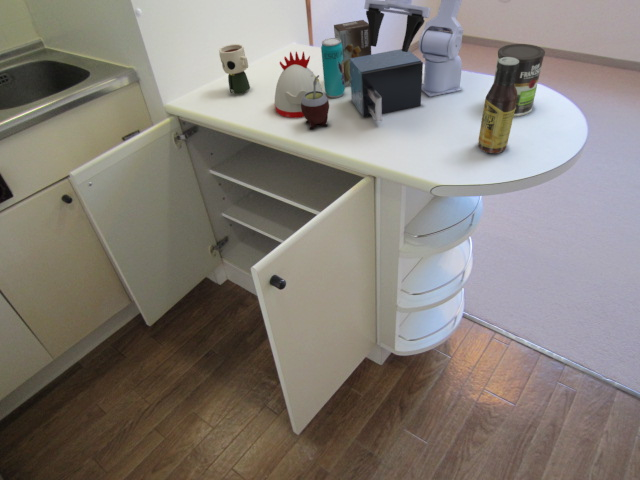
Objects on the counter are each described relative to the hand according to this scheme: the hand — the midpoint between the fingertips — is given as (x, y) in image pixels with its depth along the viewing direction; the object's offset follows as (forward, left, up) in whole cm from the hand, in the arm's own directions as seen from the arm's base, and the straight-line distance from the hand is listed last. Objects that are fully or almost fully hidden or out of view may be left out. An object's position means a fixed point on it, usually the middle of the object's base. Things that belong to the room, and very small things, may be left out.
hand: (388, 49), depth 104 cm
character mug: (+33, -39, -19) cm, 55 cm away
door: (-4, -4, -19) cm, 20 cm away
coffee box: (-1, -31, -19) cm, 36 cm away
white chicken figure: (+18, -21, -19) cm, 34 cm away
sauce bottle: (-18, +19, -19) cm, 32 cm away
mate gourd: (+16, -8, -19) cm, 26 cm away
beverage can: (+7, -24, -19) cm, 32 cm away
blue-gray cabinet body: (-4, -13, -19) cm, 23 cm away
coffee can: (-32, +3, -19) cm, 37 cm away
